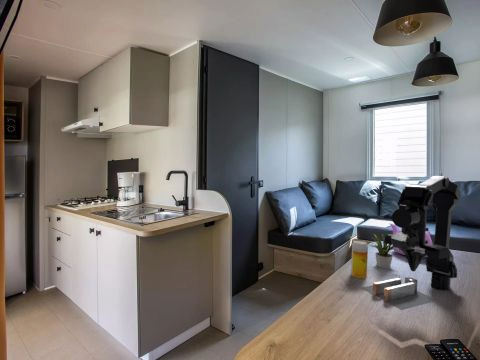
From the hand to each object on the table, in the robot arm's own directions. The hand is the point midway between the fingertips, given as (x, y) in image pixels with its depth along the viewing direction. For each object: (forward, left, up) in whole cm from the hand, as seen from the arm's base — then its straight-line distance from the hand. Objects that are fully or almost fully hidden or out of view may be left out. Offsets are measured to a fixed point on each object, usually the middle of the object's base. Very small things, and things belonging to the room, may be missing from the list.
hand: (413, 271), depth 91 cm
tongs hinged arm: (-4, -8, -12) cm, 14 cm away
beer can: (-4, -26, -13) cm, 29 cm away
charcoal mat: (-4, -8, -13) cm, 16 cm away
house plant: (-23, -29, -13) cm, 39 cm away
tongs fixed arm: (-1, -10, -12) cm, 16 cm away
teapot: (-55, -40, -13) cm, 69 cm away
